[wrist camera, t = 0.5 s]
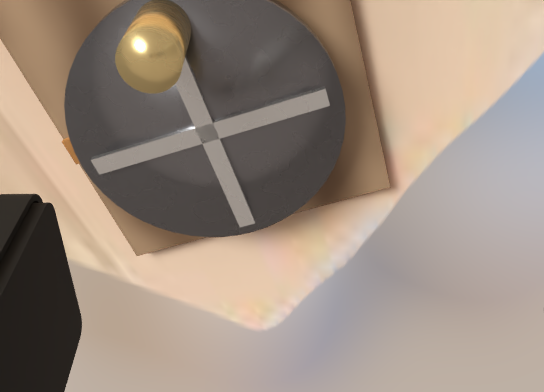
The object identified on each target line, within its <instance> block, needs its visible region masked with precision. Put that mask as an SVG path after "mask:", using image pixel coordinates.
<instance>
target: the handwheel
mask: <svg viewBox="0 0 544 392" xmlns="http://www.w3.org/2000/svg"><path fill="white" fill-rule="evenodd" d="M64 109H65V122H66V126H67V131H68V135H69V139H70V142H71V144H72V147H73V150H74V152H75V155H76V156H77V158H78V160H79V162H80V164H81V166H82V167H83V169H84V170H85V172H86V173H87V175H88V176H89V177H90V179H91V180H92V182H93V183H94V184H95V185H96V186H97V187H98V188H99V189H100V190H101V192H102V193H103V194H104V195H106V196H107V197H108V198H109V199H110V200H111V201H112V202H114V203H115V204H116V205H117V206H119V207H120V208H122V209H123V210H125V211H126V212H127V213H129V214H131V215H132V216H134V217H136V218H138V219H140V220H142V221H143V222H146V223H148V224H151V225H153V226H155V227H158V228H161V229H164V230H167V231H171V232H174V233H179V234H184V235H189V236H200V237H225V236H234V235H240V234H245V233H249V232H253V231H256V230H259V229H263V228H266V227H268V226H270V225H272V224H275V223H277V222H279V221H281V220H283V219H284V218H286V217H288V216H289V215H291V214H293V213H294V212H296V211H297V210H298V209H300V208H301V207H302V206H303V205H305V204H306V203H307V202H308V201H309V200H310V199H311V198H312V197H313V196H314V195H315V194H316V193H317V192H318V191H319V189H320V188H321V187H322V186H323V184H324V183H325V182H326V180H327V179H328V177H329V175H330V174H331V172H332V170H333V169H334V166H335V164H336V162H337V159H338V157H339V155H340V151H341V147H342V144H343V140H344V133H345V125H346V115H345V102H344V96H343V90H342V87H341V84H340V81H339V78H338V75H337V72H336V69H335V67H334V64H333V62H332V60H331V58H330V56H329V54H328V52H327V50H326V48H325V47H324V45H323V44H322V42H321V41H320V39H319V38H318V36H317V35H316V33H315V32H314V31H313V30H312V29H311V28H310V27H309V26H308V25H307V24H306V23H305V21H304V20H303V19H302V18H300V17H299V16H298V15H297V14H296V13H294V12H293V11H292V10H291V9H290V8H288V7H287V6H285V5H284V4H282V3H280V2H279V1H277V0H125V1H123V2H121V3H120V4H118V5H117V6H116V7H115V8H113V9H112V10H111V11H110V12H109V13H108V14H106V15H105V16H104V17H103V18H102V19H101V21H100V22H99V23H98V24H97V25H96V27H95V28H94V29H93V30H92V31H91V33H90V34H89V35H88V36H87V38H86V39H85V41H84V42H83V44H82V46H81V47H80V49H79V51H78V52H77V54H76V56H75V59H74V61H73V63H72V66H71V68H70V71H69V75H68V79H67V84H66V88H65V101H64Z"/></svg>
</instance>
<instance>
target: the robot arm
mask: <svg viewBox="0 0 544 392" xmlns="http://www.w3.org/2000/svg"><path fill="white" fill-rule="evenodd" d="M81 329H82V320H81V313H80V309H79V305H78V301H77V298H76V294H75V289H74V285H73V281H72V277H71V273H70V269H69V265H68V261H67V257H66V253H65V249H64V245H63V241H62V237H61V233H60V229H59V225H58V221H57V217H56V213H55V210H54V207H53V205H52V204H51V203H43V202H42V199H41V198H40V196H39V195H37V194H1V195H0V392H64V391H65V387H66V384H67V380H68V377H69V374H70V370H71V367H72V364H73V360H74V357H75V353H76V350H77V346H78V343H79V340H80V336H81Z"/></svg>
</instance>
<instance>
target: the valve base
mask: <svg viewBox="0 0 544 392" xmlns="http://www.w3.org/2000/svg"><path fill="white" fill-rule="evenodd" d="M123 1H125V0H0V39H1V40H2V42H3V44H4V45H5V47H6V48H7V50H8V52H9V53H10V55H11V56H12V58H13V59H14V61H15V63H16V64H17V66H18V67H19V69H20V71H21V72H22V74H23V75H24V77H25V79H26V80H27V82H28V83H29V85H30V87H31V88H32V90H33V91H34V93H35V94H36V96H37V98H38V99H39V101H40V102H41V104H42V106H43V107H44V109H45V110H46V112H47V114H48V115H49V117H50V118H51V120H52V122H53V123H54V125H55V126H56V128H57V130H58V131H59V133H60V134H61V136H62V137H63V141H62V143H63V144H64V146H65V147H66V149H67V151H68V152H69V154H70V155H71V157H72V159H73V160H74V162H75V163H76V164H79V165H80V166H81V164H80V162H79V160H78V158H77V156H76V155H75V152H74V150H73V147H72V144H71V142H70V139H69V135H68V131H67V126H66V122H65V109H64V101H65V88H66V84H67V79H68V75H69V71H70V68H71V66H72V63H73V61H74V59H75V56H76V54H77V52H78V51H79V49H80V47H81V46H82V44H83V42H84V41H85V39H86V38H87V36H88V35H89V34H90V33H91V31H92V30H93V29H94V28H95V27H96V25H97V24H98V23H99V22H100V21H101V19H102V18H103V17H104V16H105V15H106V14H108V13H109V12H110V11H111V10H112V9H113V8H115V7H116V6H117V5H118V4H120V3H121V2H123ZM277 1H279V2H280V3H282V4H284V5H285V6H287V7H288V8H290V9H291V10H292V11H293V12H294V13H296V14H297V15H298V16H299V17H300V18H302V19H303V20H304V21H305V23H306V24H307V25H308V26H309V27H310V28H311V29H312V30H313V31H314V32H315V33H316V35H317V36H318V38H319V39H320V41H321V42H322V44H323V45H324V47H325V48H326V50H327V52H328V54H329V56H330V58H331V60H332V62H333V64H334V67H335V69H336V72H337V75H338V78H339V81H340V84H341V87H342V90H343V96H344V102H345V115H346V125H345V133H344V140H343V144H342V147H341V151H340V155H339V157H338V159H337V162H336V164H335V166H334V169H333V170H332V172H331V174H330V175H329V177H328V179H327V180H326V182H325V183H324V184H323V186H322V187H321V188H320V189H319V191H318V192H317V193H316V194H315V195H314V196H313V197H312V198H311V199H310V200H309V201H308V202H307V203H306V204H305V205H303V206H302V207H301V208H300V209H298V210H297V211H296V212H294V213H297V212H301V211H305V210H308V209H312V208H316V207H319V206H323V205H327V204H330V203H334V202H338V201H341V200H345V199H349V198H352V197H356V196H360V195H363V194H367V193H371V192H374V191H378V190H382V189H385V188H389V187H390V183H389V178H388V174H387V169H386V164H385V160H384V155H383V150H382V146H381V141H380V136H379V132H378V127H377V122H376V118H375V113H374V108H373V104H372V99H371V94H370V90H369V85H368V80H367V76H366V71H365V66H364V62H363V57H362V52H361V47H360V43H359V38H358V33H357V29H356V24H355V19H354V15H353V10H352V5H351V1H350V0H277ZM81 168H82V169H83V167H82V166H81ZM83 171H84V173H85V174H86V176H87V177H88V179H89V180H90V182H91V184H92V185H93V187H94V188H95V190H96V192H97V193H98V195H99V196H100V198H101V200H102V201H103V203H104V204H105V206H106V208H107V209H108V211H109V212H110V214H111V215H112V217H113V219H114V220H115V222H116V223H117V225H118V227H119V228H120V230H121V231H122V233H123V235H124V236H125V238H126V239H127V241H128V243H129V244H130V246H131V247H132V249H133V251H134V252H135V254H136V255H137V256H139V255H143V254H147V253H150V252H154V251H158V250H161V249H165V248H169V247H172V246H176V245H180V244H183V243H187V242H191V241H194V240H198V239H202V238H205V237H200V236H189V235H184V234H179V233H174V232H171V231H167V230H164V229H161V228H158V227H155V226H153V225H151V224H148V223H146V222H143V221H142V220H140V219H138V218H136V217H134V216H132V215H131V214H129V213H127V212H126V211H125V210H123V209H122V208H120V207H119V206H117V205H116V204H115V203H114V202H112V201H111V200H110V199H109V198H108V197H107V196H106V195H104V194H103V193H102V192H101V190H100V189H99V188H98V187H97V186H96V185H95V184H94V183H93V182H92V180H91V179H90V177H89V176H88V175H87V173H86V172H85V170H84V169H83ZM294 213H293V214H294Z"/></svg>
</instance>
